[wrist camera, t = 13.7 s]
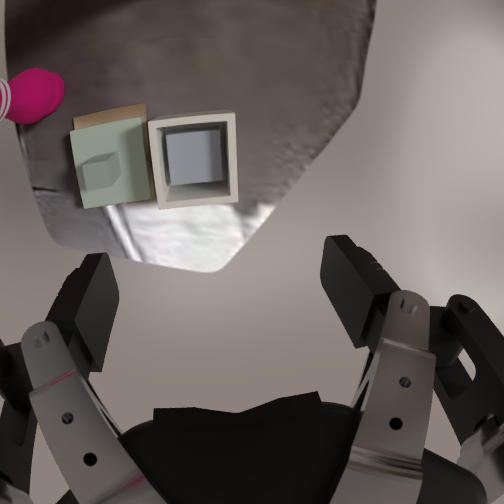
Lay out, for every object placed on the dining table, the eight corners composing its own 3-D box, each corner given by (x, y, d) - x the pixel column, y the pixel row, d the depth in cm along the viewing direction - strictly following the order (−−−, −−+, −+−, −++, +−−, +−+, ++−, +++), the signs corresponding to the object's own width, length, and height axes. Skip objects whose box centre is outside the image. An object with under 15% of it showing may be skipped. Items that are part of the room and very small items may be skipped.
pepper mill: (62, 59, 26) (-36, 53, 9) (73, 106, 29) (-23, 132, 12) (22, 83, 25) (-79, 100, 8) (33, 127, 29) (-65, 170, 12)
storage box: (157, 116, 33) (147, 121, 27) (229, 109, 34) (235, 113, 28) (165, 189, 38) (158, 209, 32) (232, 183, 39) (238, 202, 33)
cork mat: (74, 117, 30) (73, 118, 30) (145, 103, 31) (144, 103, 31) (90, 207, 37) (89, 208, 37) (155, 198, 38) (155, 199, 38)
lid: (76, 129, 31) (52, 138, 25) (144, 115, 32) (131, 120, 26) (89, 202, 36) (70, 225, 30) (153, 193, 37) (144, 215, 31)
